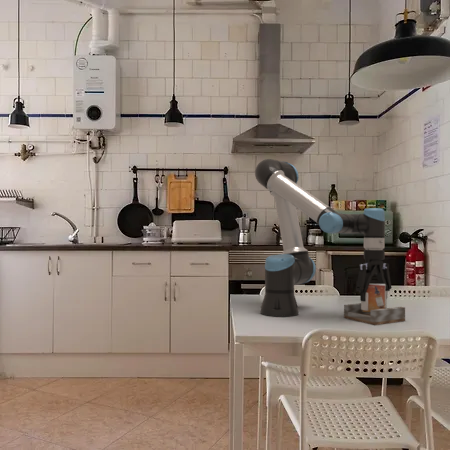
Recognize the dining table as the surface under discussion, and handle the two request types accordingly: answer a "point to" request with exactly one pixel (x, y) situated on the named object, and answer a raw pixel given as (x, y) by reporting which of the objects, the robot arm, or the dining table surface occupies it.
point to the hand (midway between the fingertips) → (373, 308)
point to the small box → (376, 297)
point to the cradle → (374, 314)
